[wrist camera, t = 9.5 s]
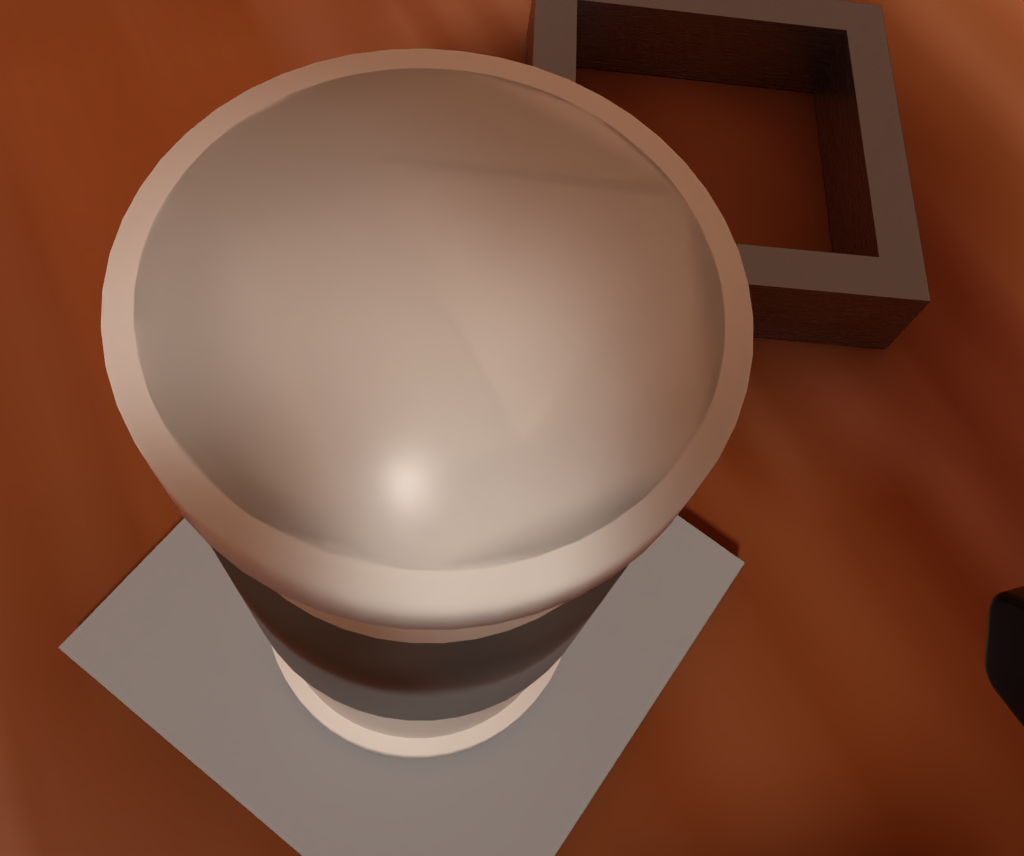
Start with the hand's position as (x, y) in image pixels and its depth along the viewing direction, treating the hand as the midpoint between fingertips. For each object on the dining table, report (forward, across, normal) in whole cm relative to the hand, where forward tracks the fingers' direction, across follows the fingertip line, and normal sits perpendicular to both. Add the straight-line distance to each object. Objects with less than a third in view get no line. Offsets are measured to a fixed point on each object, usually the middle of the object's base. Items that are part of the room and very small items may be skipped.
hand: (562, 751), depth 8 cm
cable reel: (+12, 0, +6) cm, 13 cm away
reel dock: (+20, -11, -2) cm, 23 cm away
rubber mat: (+12, 0, +6) cm, 14 cm away
